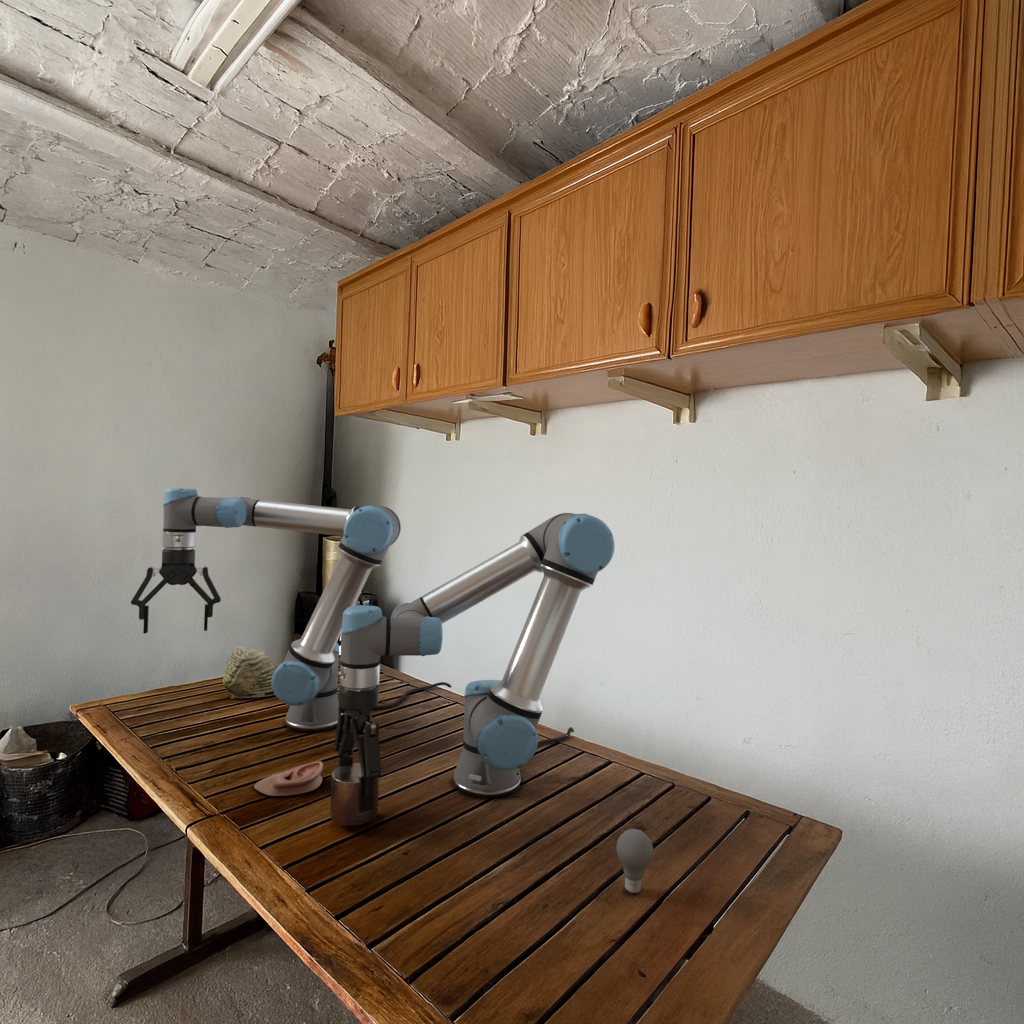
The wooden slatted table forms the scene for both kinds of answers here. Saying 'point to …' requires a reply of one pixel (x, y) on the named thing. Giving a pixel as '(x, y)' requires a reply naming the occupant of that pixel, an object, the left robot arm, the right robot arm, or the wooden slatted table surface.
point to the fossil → (249, 673)
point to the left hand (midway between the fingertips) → (176, 631)
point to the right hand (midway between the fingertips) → (354, 800)
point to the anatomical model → (292, 781)
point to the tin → (350, 796)
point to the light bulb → (634, 857)
